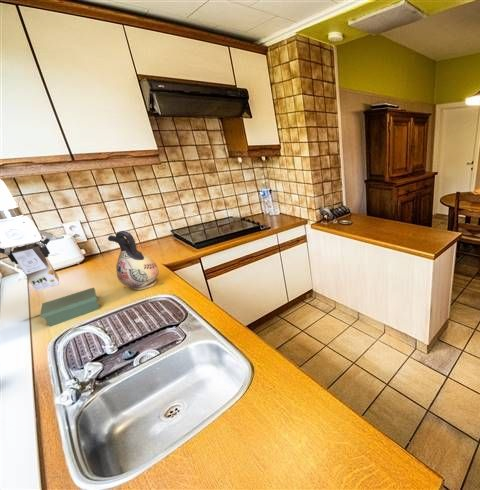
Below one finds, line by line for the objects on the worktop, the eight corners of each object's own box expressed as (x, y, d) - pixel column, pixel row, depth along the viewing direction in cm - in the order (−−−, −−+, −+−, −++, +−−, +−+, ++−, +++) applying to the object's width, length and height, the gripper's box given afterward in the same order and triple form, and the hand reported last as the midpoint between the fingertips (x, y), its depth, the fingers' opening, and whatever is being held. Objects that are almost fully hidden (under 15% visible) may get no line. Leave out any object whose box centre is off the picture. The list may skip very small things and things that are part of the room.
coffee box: (60, 284, 104) (38, 247, 98) (35, 291, 100) (11, 253, 94) (59, 277, 110) (38, 241, 104) (35, 284, 106) (12, 247, 99)
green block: (47, 327, 106) (39, 315, 104) (49, 314, 114) (42, 303, 112) (101, 308, 117) (95, 296, 114) (99, 298, 124) (93, 287, 122)
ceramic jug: (116, 292, 128) (87, 235, 116) (147, 276, 142) (124, 224, 130) (143, 296, 124) (116, 236, 112) (172, 279, 138) (151, 225, 126)
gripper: (-40, 222, 86) (-6, 271, 93) (40, 210, 97) (65, 254, 104) (-33, 218, 91) (-2, 264, 98) (42, 207, 102) (66, 249, 109)
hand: (32, 259), depth 101 cm, fingers closed on coffee box, 6 cm apart
